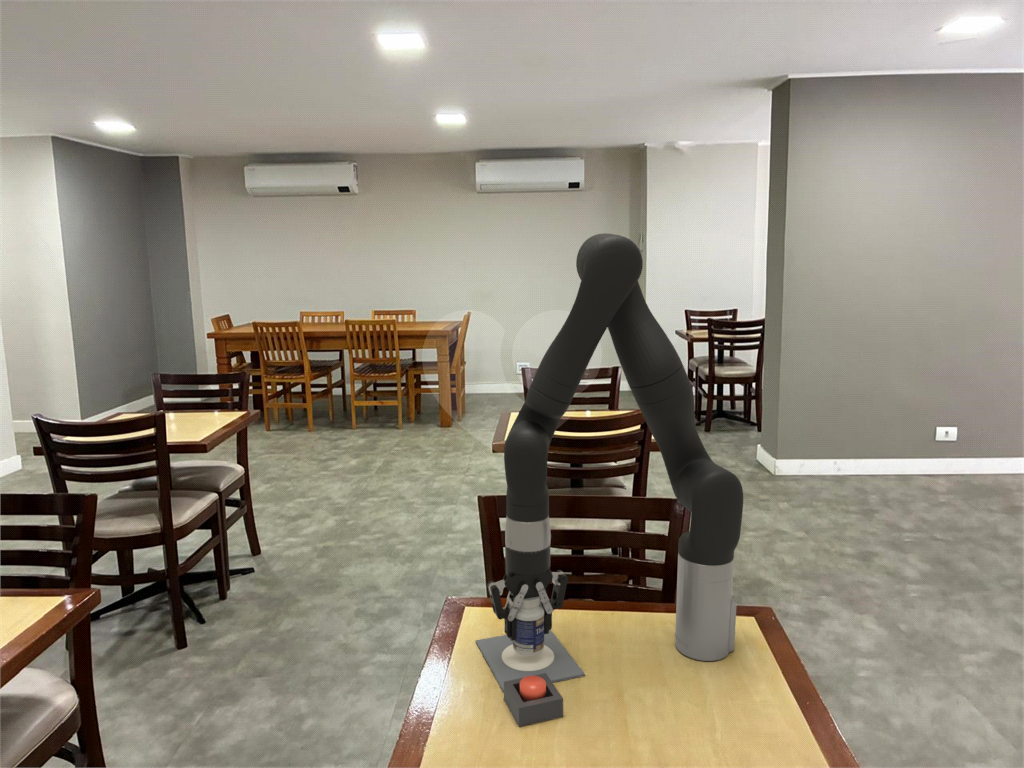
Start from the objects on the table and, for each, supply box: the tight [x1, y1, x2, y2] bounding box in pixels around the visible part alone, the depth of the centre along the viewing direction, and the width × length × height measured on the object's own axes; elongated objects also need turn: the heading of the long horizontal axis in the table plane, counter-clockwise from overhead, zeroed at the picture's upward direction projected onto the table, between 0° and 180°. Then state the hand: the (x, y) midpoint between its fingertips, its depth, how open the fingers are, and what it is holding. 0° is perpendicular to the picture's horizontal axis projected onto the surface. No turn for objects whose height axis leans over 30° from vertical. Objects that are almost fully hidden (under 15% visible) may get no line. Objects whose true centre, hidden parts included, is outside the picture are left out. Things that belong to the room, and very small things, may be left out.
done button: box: [520, 676, 546, 702], centre depth 106 cm, size 4×4×2 cm
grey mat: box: [475, 629, 586, 694], centre depth 120 cm, size 14×16×1 cm
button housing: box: [503, 673, 564, 728], centre depth 107 cm, size 7×7×3 cm
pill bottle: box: [513, 596, 544, 656], centre depth 119 cm, size 5×5×10 cm
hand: (528, 634), depth 120 cm, fingers closed on pill bottle, 5 cm apart
